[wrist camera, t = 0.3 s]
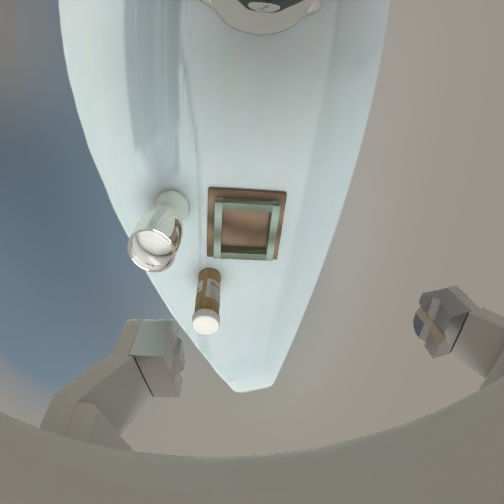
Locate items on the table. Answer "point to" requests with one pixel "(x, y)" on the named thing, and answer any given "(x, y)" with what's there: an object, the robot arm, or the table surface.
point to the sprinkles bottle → (207, 302)
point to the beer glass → (159, 233)
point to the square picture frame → (244, 223)
